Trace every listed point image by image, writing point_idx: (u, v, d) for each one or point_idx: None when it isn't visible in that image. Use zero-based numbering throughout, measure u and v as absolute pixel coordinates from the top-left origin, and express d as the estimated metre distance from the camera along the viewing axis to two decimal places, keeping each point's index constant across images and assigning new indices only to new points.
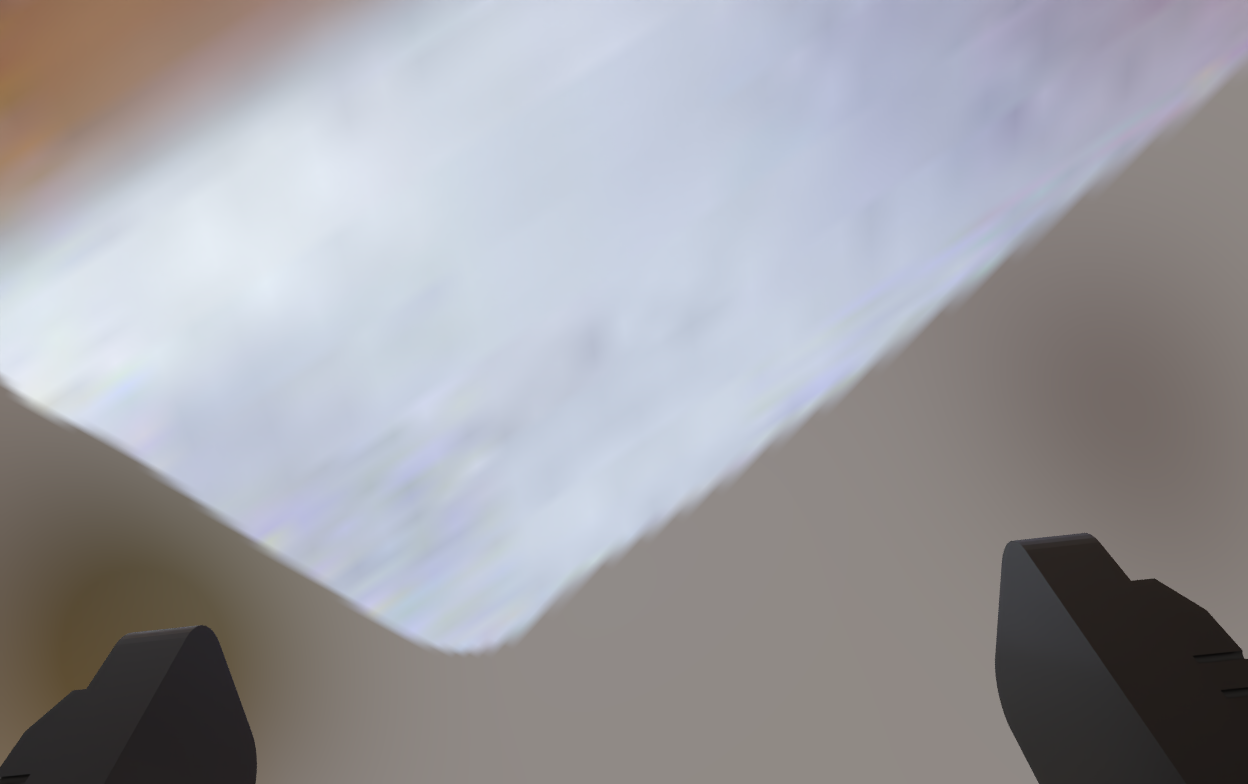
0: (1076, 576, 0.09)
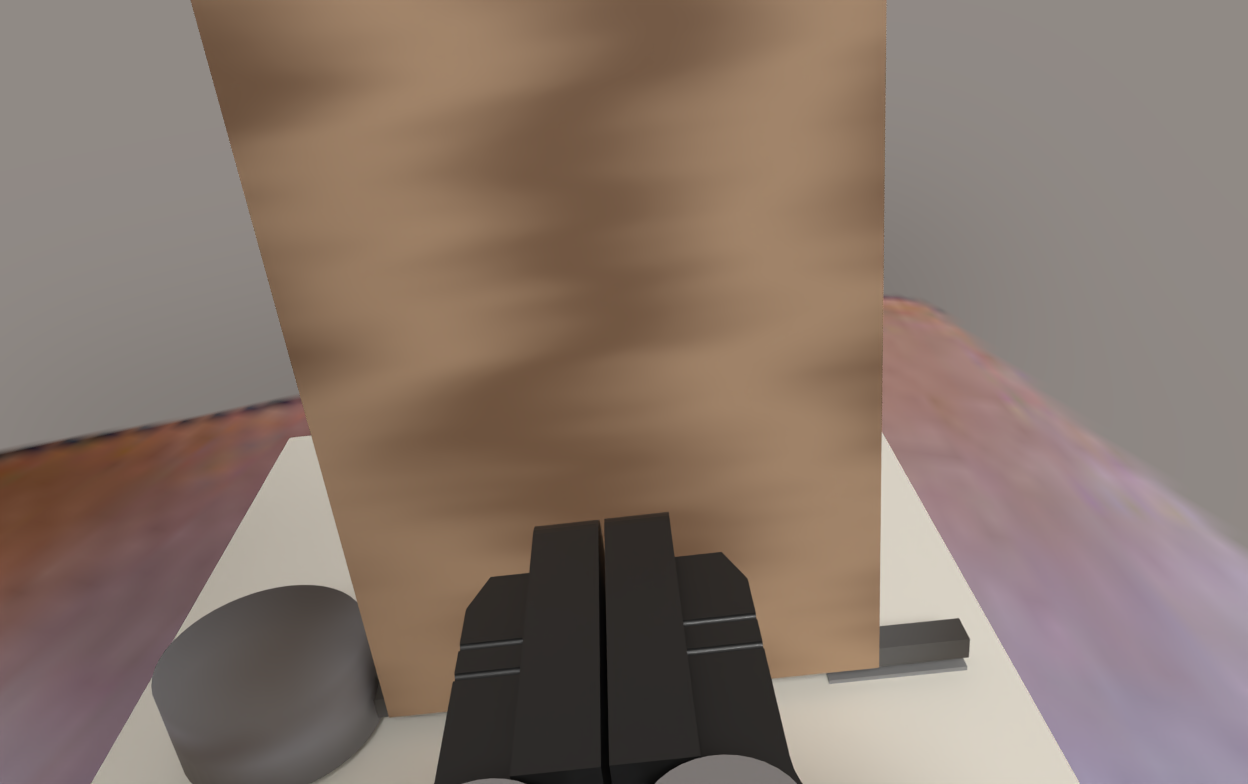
0: (632, 548, 0.10)
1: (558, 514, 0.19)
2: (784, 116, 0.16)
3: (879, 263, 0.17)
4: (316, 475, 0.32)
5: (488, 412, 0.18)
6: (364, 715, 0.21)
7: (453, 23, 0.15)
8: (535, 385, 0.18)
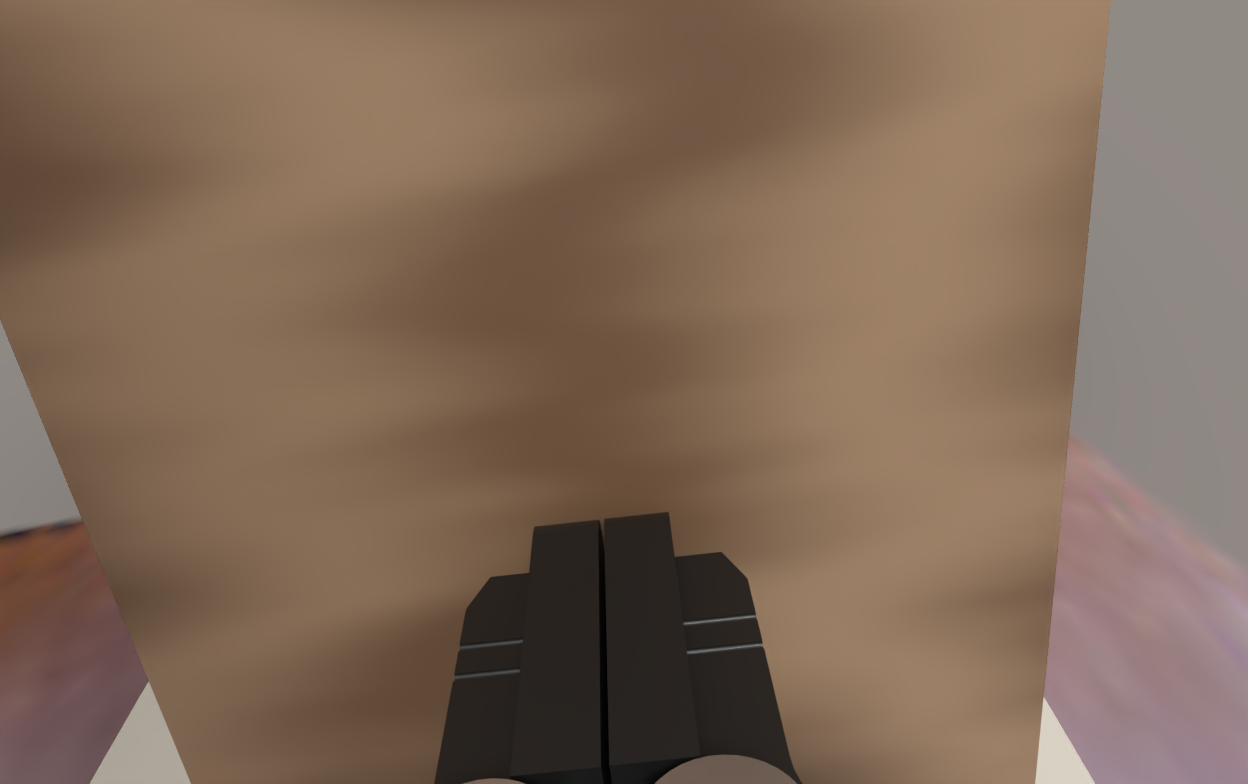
0: (632, 549, 0.10)
1: None
2: (922, 220, 0.09)
3: (1061, 445, 0.11)
4: None
5: (437, 668, 0.12)
6: None
7: (355, 71, 0.09)
8: None
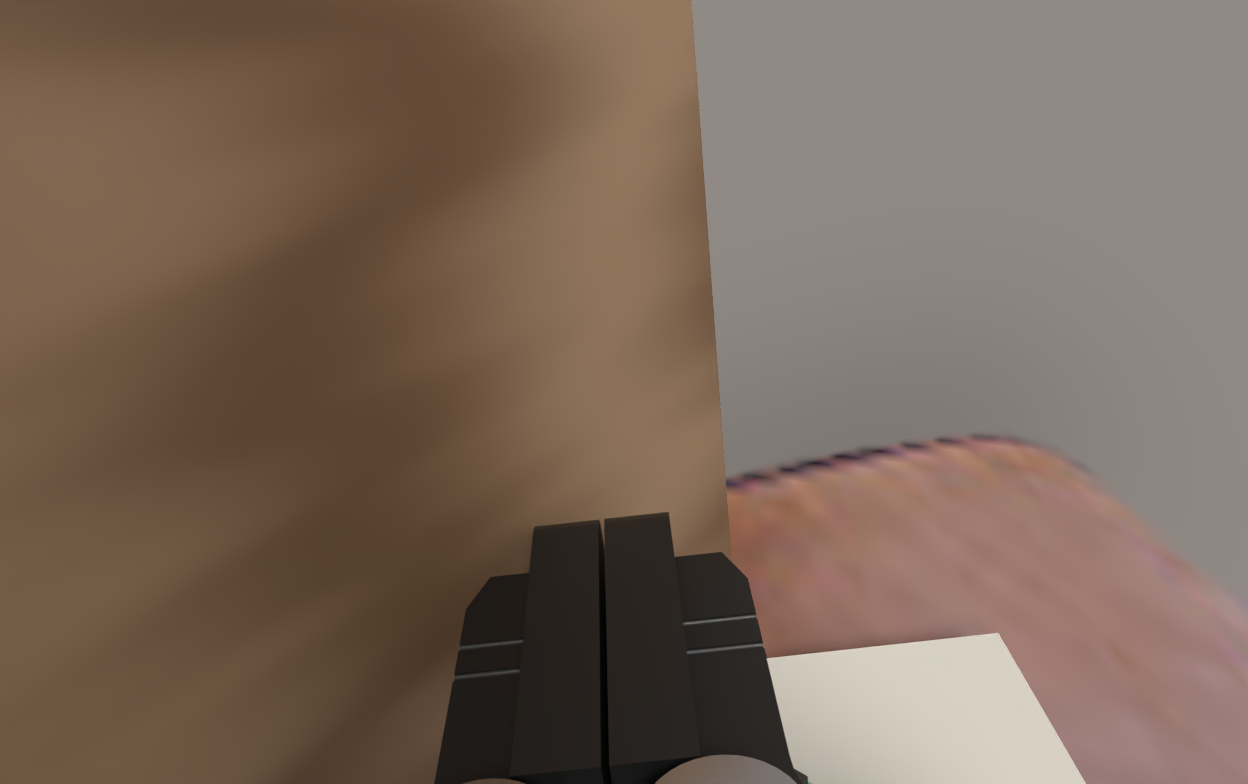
0: (632, 548, 0.10)
1: None
2: (608, 222, 0.10)
3: (714, 392, 0.13)
4: None
5: None
6: None
7: (46, 145, 0.06)
8: None
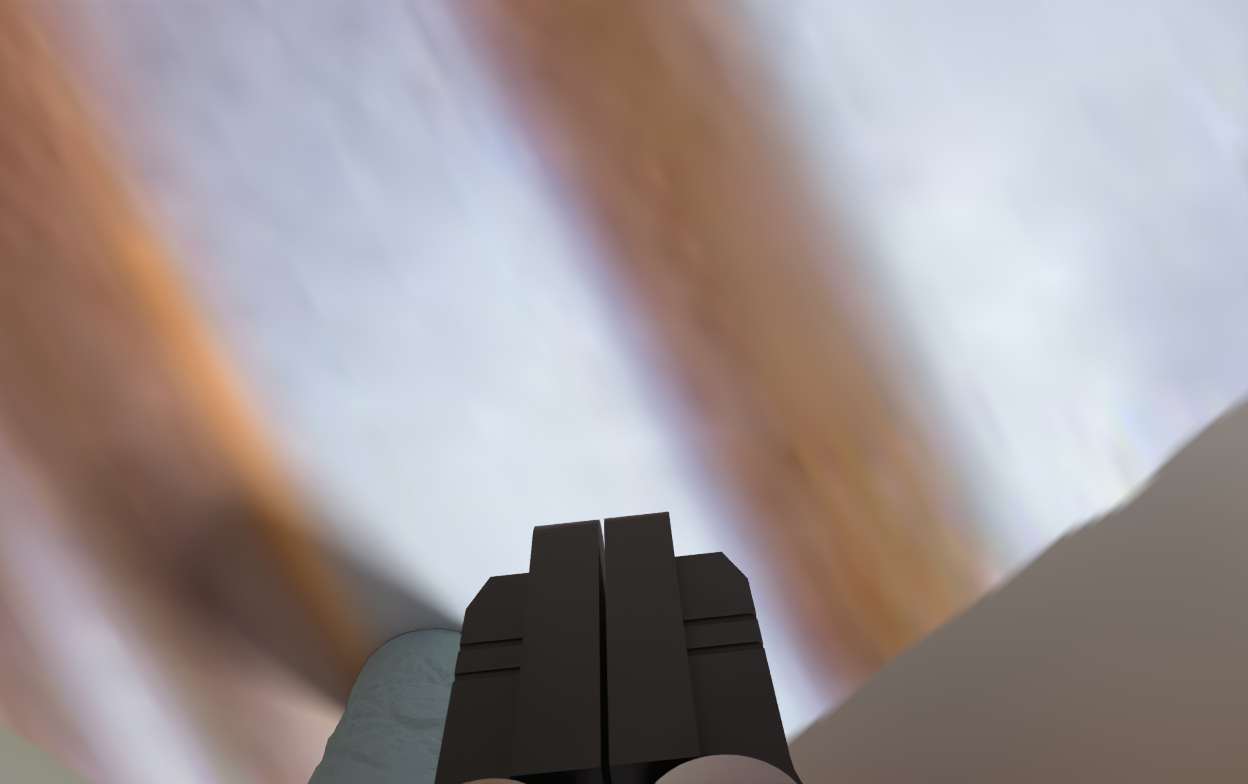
0: (632, 548, 0.10)
1: None
2: None
3: None
4: None
5: None
6: None
7: None
8: None
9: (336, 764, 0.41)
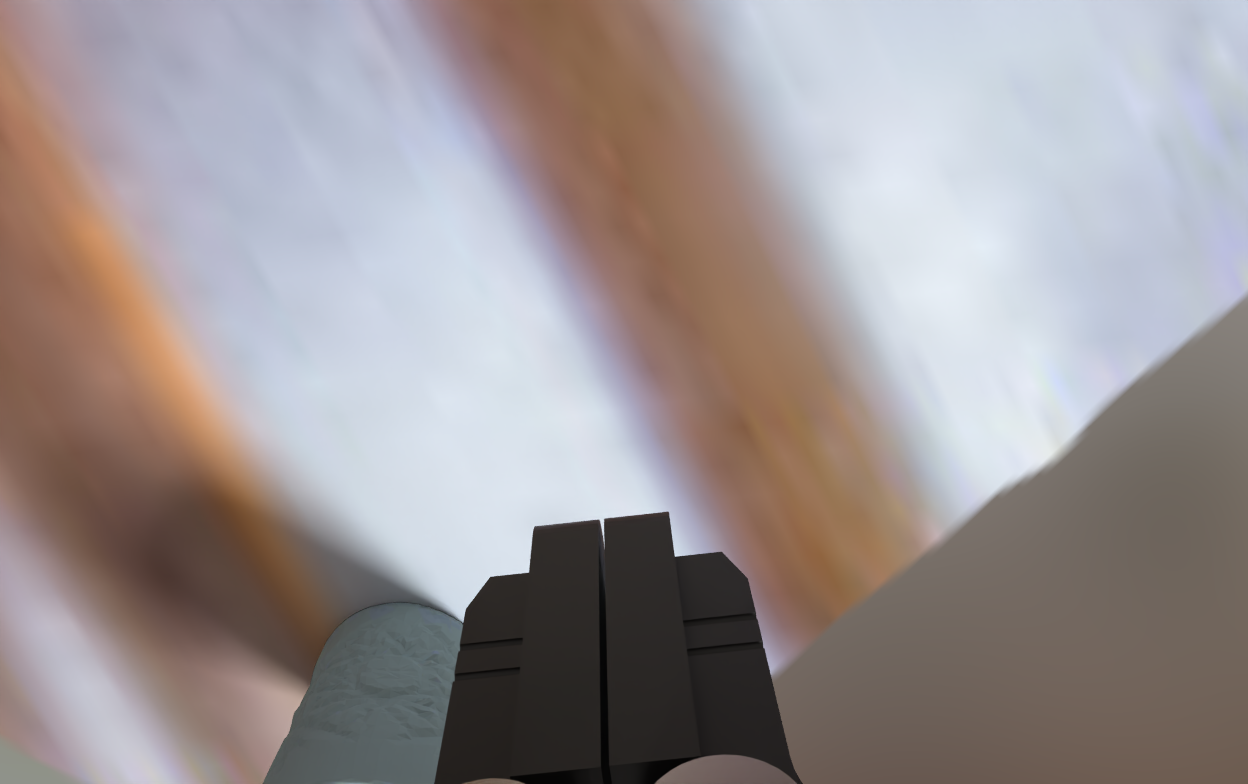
0: (633, 548, 0.10)
1: None
2: None
3: None
4: None
5: None
6: None
7: None
8: None
9: (304, 734, 0.42)
